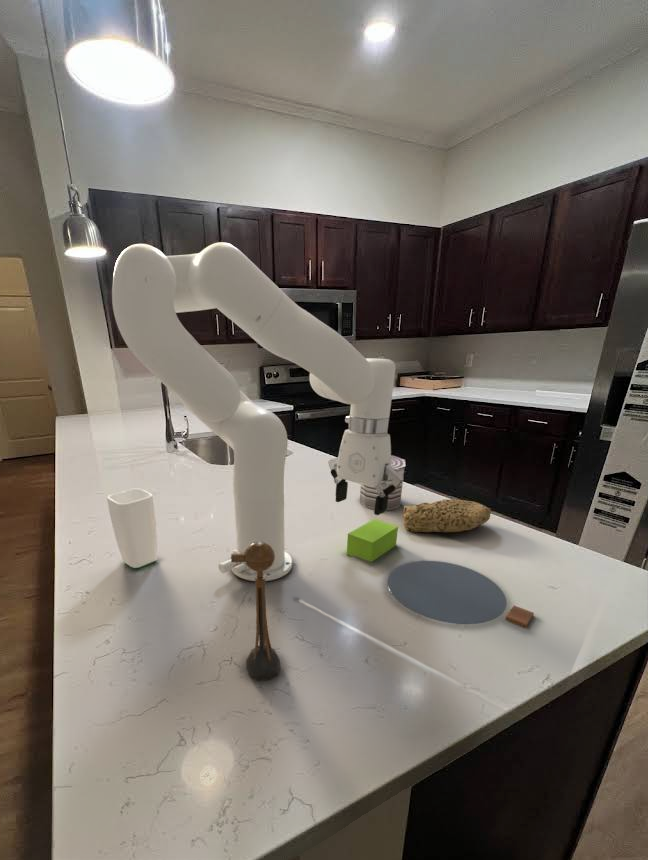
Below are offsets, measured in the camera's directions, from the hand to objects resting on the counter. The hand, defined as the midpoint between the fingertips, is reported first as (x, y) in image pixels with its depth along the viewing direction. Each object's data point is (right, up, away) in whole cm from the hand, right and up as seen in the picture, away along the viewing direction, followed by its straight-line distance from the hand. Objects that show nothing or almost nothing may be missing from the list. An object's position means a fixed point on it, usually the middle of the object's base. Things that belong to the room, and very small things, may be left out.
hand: (359, 506), depth 88 cm
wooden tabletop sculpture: (-20, -23, -29) cm, 42 cm away
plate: (+13, -16, -12) cm, 24 cm away
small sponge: (+3, -10, +2) cm, 10 cm away
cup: (-46, -12, 0) cm, 48 cm away
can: (+11, +1, +27) cm, 30 cm away
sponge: (+23, -5, +12) cm, 26 cm away
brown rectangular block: (+22, -19, -20) cm, 35 cm away
